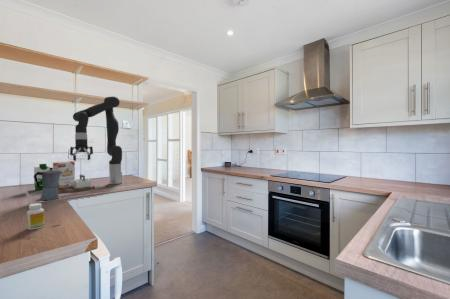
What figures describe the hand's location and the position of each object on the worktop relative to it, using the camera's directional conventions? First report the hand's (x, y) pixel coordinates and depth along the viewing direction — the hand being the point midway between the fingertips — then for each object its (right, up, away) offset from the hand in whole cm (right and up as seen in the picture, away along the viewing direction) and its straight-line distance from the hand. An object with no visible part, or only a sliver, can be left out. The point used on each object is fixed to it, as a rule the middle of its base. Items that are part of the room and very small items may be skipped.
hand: (81, 160), depth 161 cm
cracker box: (-19, -23, +8) cm, 30 cm away
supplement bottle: (+28, -25, -71) cm, 81 cm away
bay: (-3, -23, -3) cm, 23 cm away
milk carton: (-29, -23, 0) cm, 37 cm away
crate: (0, -21, 0) cm, 21 cm away
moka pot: (-3, -23, -27) cm, 36 cm away
